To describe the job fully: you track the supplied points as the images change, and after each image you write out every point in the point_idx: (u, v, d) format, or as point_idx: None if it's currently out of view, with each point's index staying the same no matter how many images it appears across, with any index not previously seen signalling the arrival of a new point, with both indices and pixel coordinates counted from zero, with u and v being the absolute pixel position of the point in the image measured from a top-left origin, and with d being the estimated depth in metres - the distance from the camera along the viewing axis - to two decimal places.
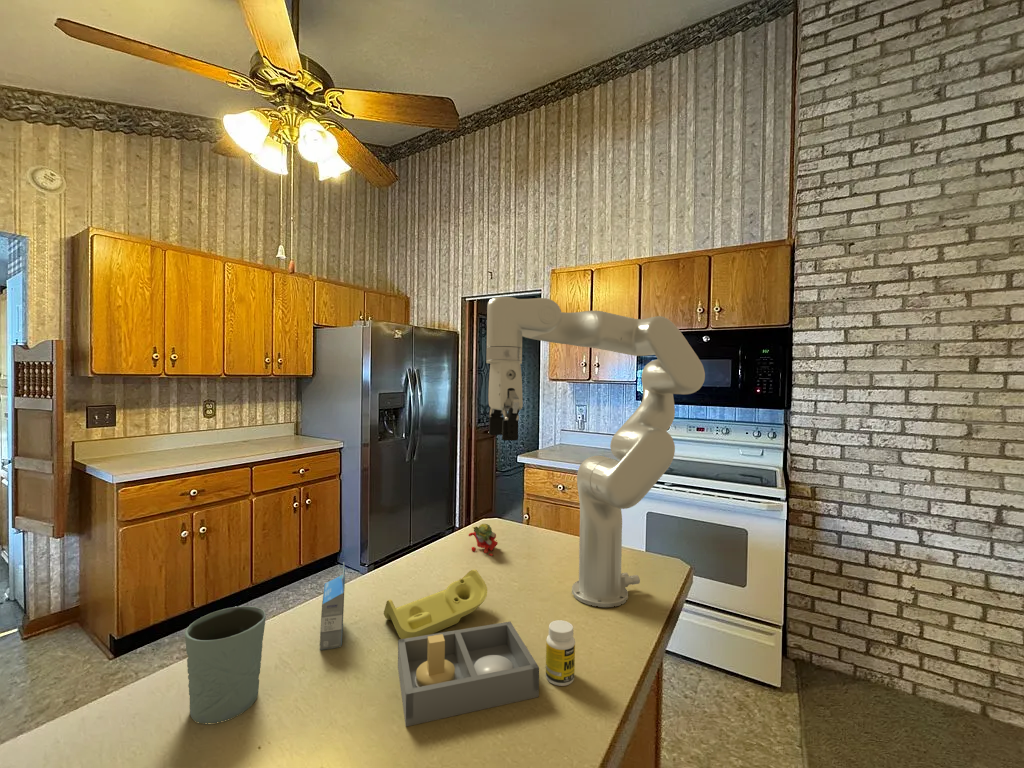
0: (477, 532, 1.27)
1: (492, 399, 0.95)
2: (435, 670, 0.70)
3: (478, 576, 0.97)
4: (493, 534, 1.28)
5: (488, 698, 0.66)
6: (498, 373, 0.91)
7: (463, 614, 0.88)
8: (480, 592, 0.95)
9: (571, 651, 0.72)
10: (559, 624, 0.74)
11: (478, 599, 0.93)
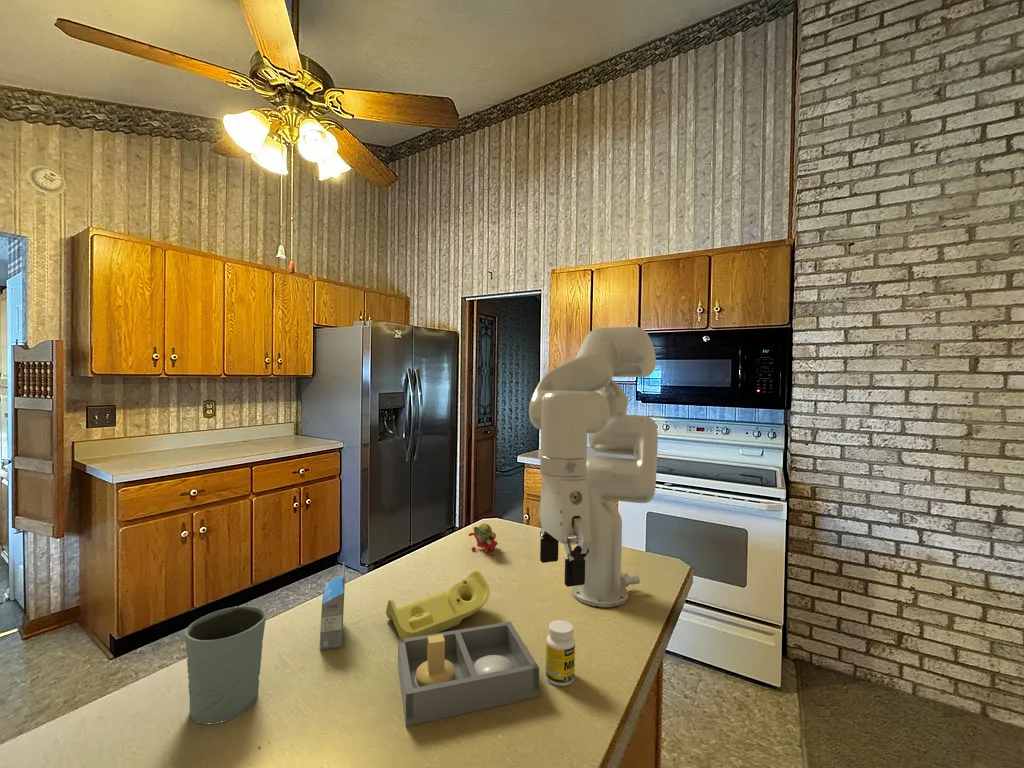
0: (477, 532, 1.27)
1: (547, 523, 0.73)
2: (435, 670, 0.70)
3: (481, 577, 0.96)
4: (493, 534, 1.28)
5: (488, 698, 0.66)
6: (559, 494, 0.69)
7: (464, 615, 0.88)
8: (483, 594, 0.94)
9: (571, 651, 0.72)
10: (559, 624, 0.74)
11: (480, 601, 0.92)
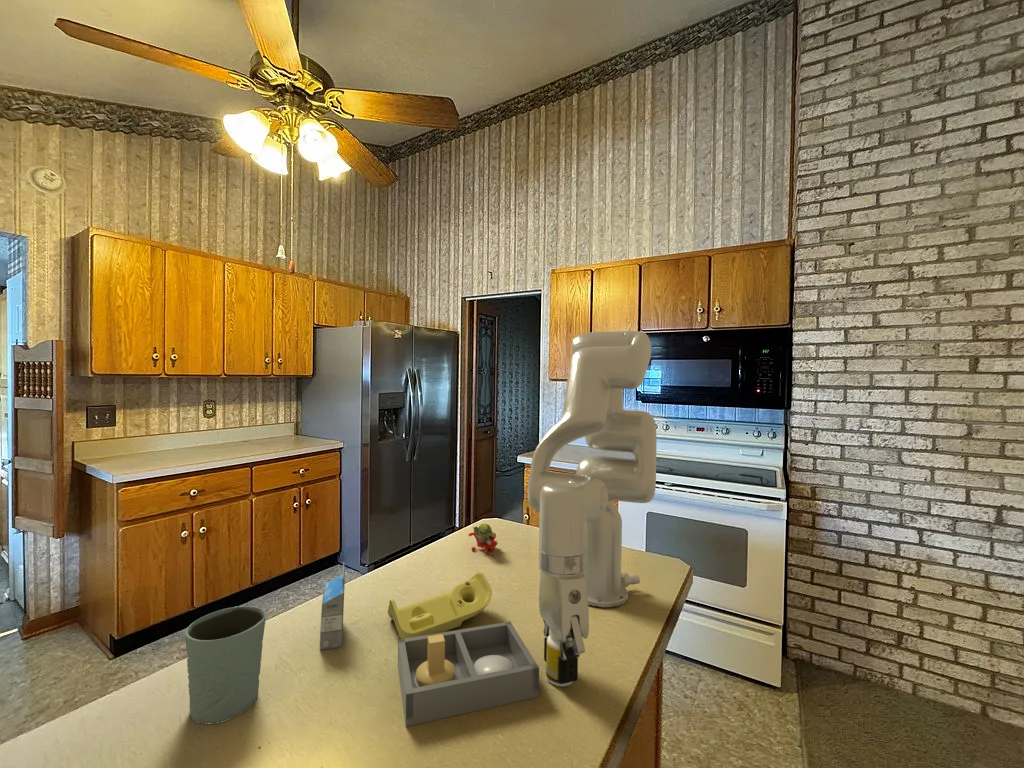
0: (477, 532, 1.27)
1: (547, 615, 0.73)
2: (435, 670, 0.70)
3: (484, 579, 0.95)
4: (493, 534, 1.28)
5: (488, 698, 0.66)
6: (558, 592, 0.70)
7: (465, 617, 0.87)
8: (485, 596, 0.93)
9: None
10: None
11: (482, 603, 0.91)
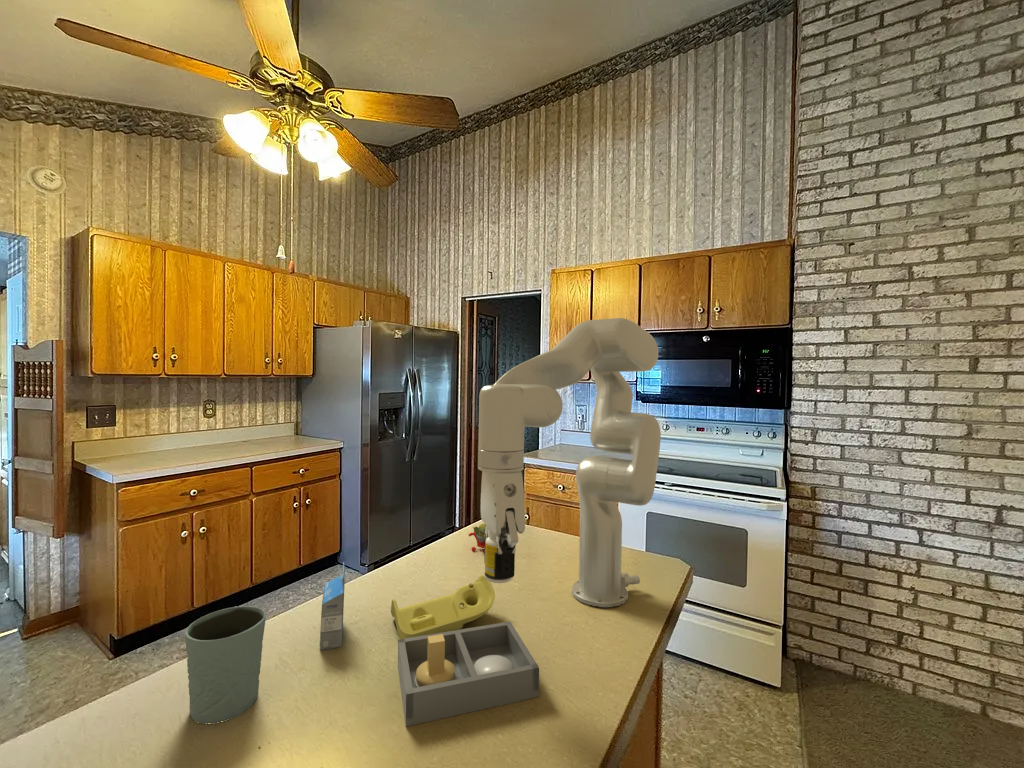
0: (477, 532, 1.27)
1: (485, 515, 0.74)
2: (435, 670, 0.70)
3: (488, 582, 0.94)
4: None
5: (488, 698, 0.66)
6: (494, 487, 0.70)
7: (466, 620, 0.86)
8: (488, 599, 0.92)
9: None
10: None
11: (485, 606, 0.90)
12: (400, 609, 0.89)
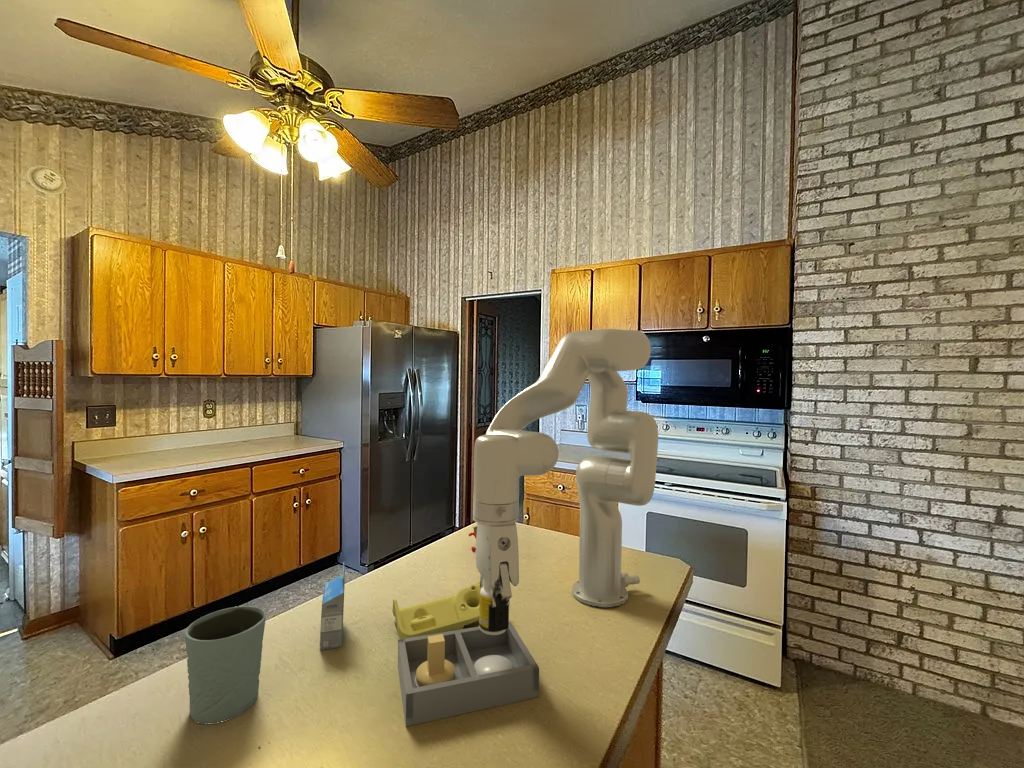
0: None
1: (480, 565, 0.74)
2: (435, 670, 0.70)
3: None
4: None
5: (488, 698, 0.66)
6: (488, 540, 0.70)
7: (466, 622, 0.85)
8: None
9: None
10: None
11: None
12: (401, 609, 0.89)
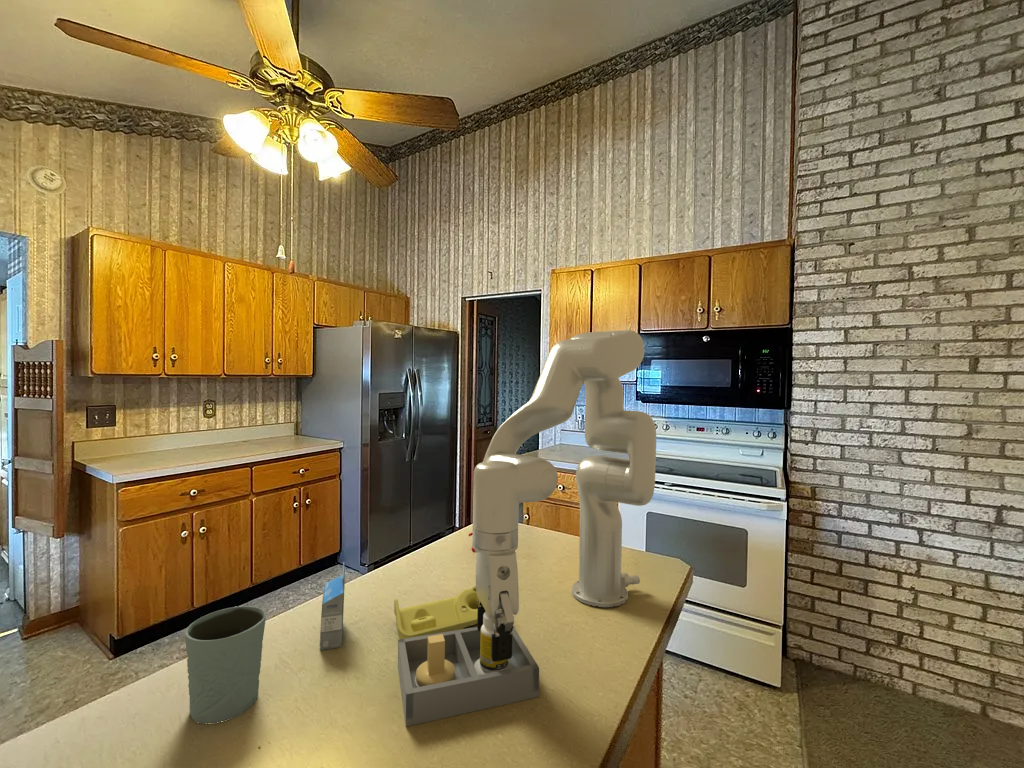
0: None
1: (480, 593, 0.74)
2: (435, 670, 0.70)
3: None
4: None
5: (488, 698, 0.66)
6: (487, 569, 0.70)
7: (466, 624, 0.85)
8: None
9: None
10: None
11: None
12: (402, 609, 0.89)
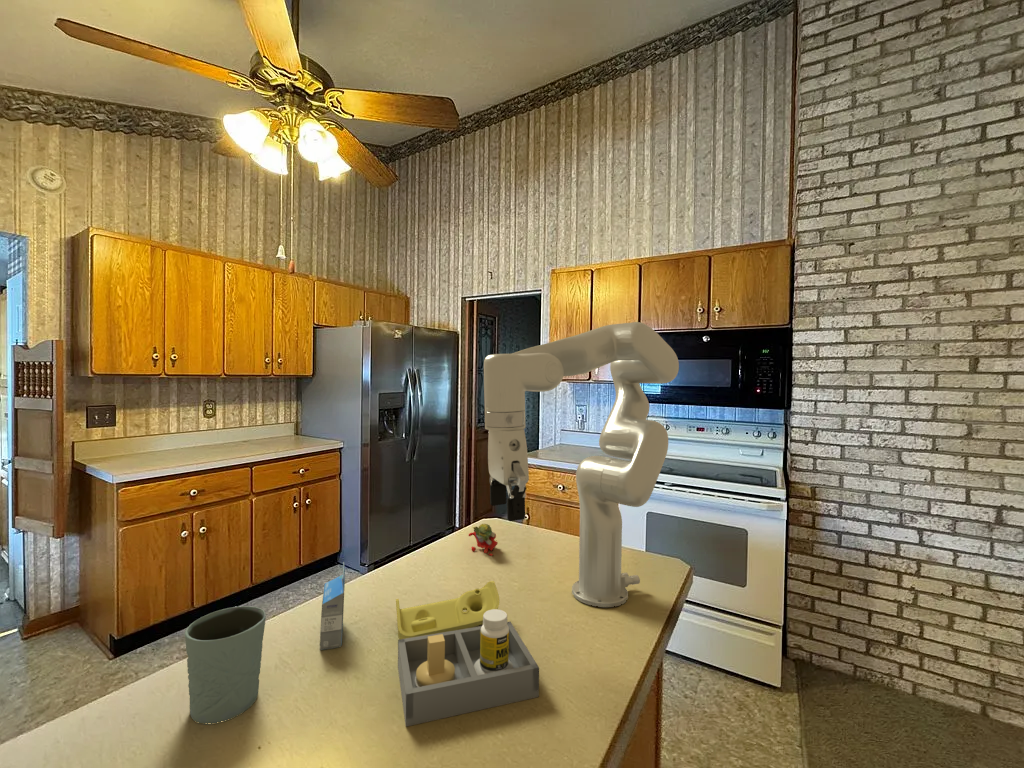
0: (477, 532, 1.27)
1: (493, 469, 0.83)
2: (435, 670, 0.70)
3: (494, 589, 0.91)
4: (493, 534, 1.28)
5: (488, 698, 0.66)
6: (500, 443, 0.79)
7: (465, 627, 0.84)
8: (492, 606, 0.89)
9: (503, 639, 0.72)
10: (494, 613, 0.75)
11: None
12: (404, 609, 0.89)
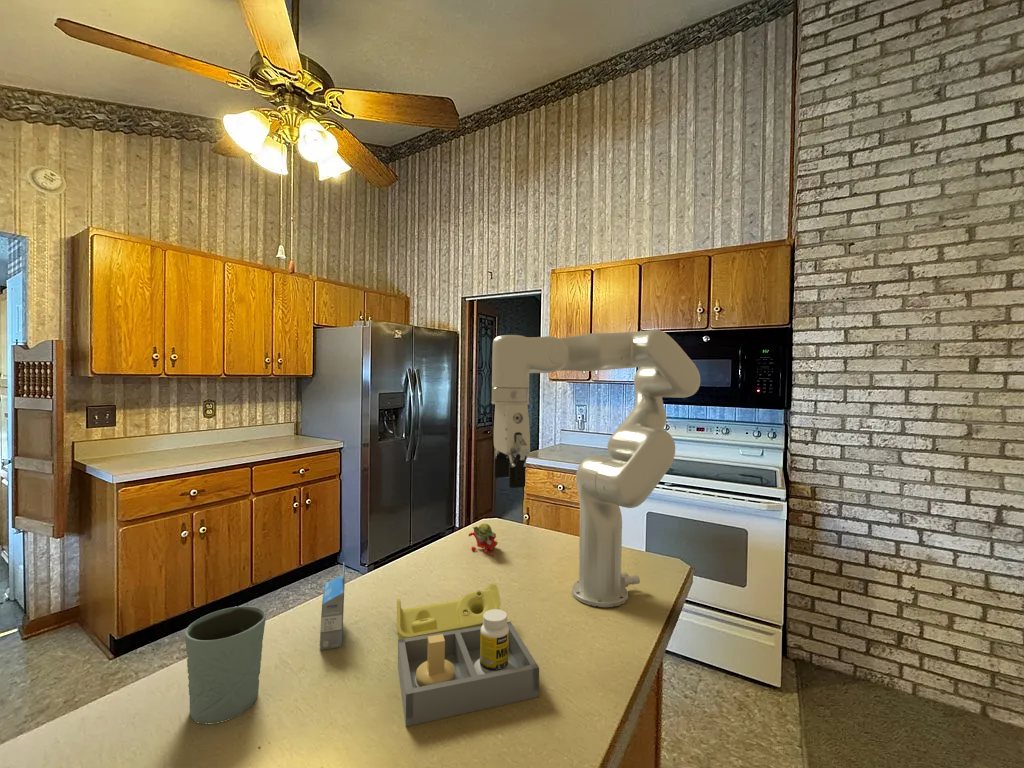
0: (477, 532, 1.27)
1: (498, 442, 0.90)
2: (435, 670, 0.70)
3: (496, 591, 0.90)
4: (493, 534, 1.28)
5: (488, 698, 0.66)
6: (505, 416, 0.86)
7: None
8: None
9: (503, 639, 0.72)
10: (494, 613, 0.75)
11: None
12: (405, 609, 0.89)
